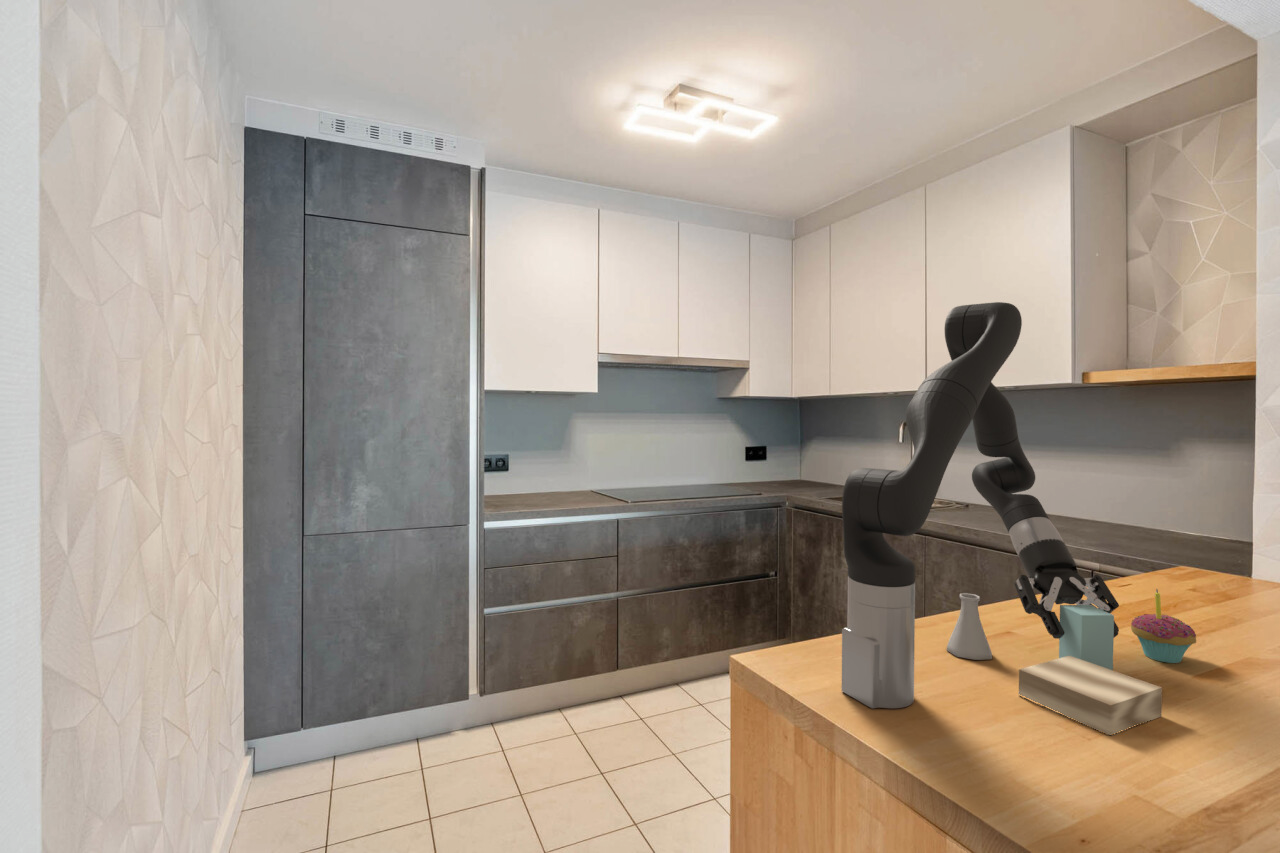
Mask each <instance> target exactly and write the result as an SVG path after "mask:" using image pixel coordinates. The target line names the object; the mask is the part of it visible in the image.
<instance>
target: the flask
mask: <svg viewBox="0 0 1280 853" xmlns="http://www.w3.org/2000/svg"><path fill="white" fill-rule="evenodd" d="M959 599H960V602H961V603H960V611H959V616H958V619H957V621H956V623H955V626H954V629H953V630H952V632H951V634H950V637H949V640H948V641H947V644H946V651H947V652H949V653H950V654H952V655H954V656H955V657H957V658H962V659H969V660H973V661H981V660H982V661H983V660H992V659H993V652H992V649H991V647H990V644H989V642H988V639H987V636H986V634H985V631H984V627H983V624H982V621H981V617H980V612H979V602H980V601H981V597H980V595H977V594H974V593H967V592H965V593H959Z"/></svg>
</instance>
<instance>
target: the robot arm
mask: <svg viewBox="0 0 1280 853" xmlns="http://www.w3.org/2000/svg"><path fill="white" fill-rule="evenodd" d="M1022 323H1023V321H1022V314H1021V312H1020V310H1019V309H1018V307H1017V306H1016V305H1015V304H1012V303H1009V302H1004V301H1003V302H1002V301H1000V302H999V301H995V302H984V303H974V304H973V303H972V304H963V305H957V306H955V307H953V308H952V309H951V310H949V312H948V314H947V316H946V319H945V322H944V338H945V344H946V347H947V351H948V355H949V357H950V359H951V361H949V362H948V363H946V364H944V365H942V366H941V367H939V368H937V369H936V370H935V371H933V372H932V373H930V374H929V375H928V376H927V377H925V379H924V380H923V381H922V382H921V384H920V385H919V386H918V388H917V390H916V392H915V393H914V395H913V397H912V399H911V400H910V402H909V404H908V405H907V408H906V412H905V423H906V428H907V432H908V435H909V437H910V439H911V442H912V446H913V448H914V449H913V450H914V452H913V455H912V457H911V459H910V461H909V462H908V464H907V465H906V467H904V468H903V469H901V470H897V469H896V470H895V469H894V470H893V469H883V468H869V467H868V468H867V467H863V468H862V467H861V468H856V469H854V470H853V471H852V472H850V473H849V475H848V476H847V478H846V480H845V483H844V486H843V490H842V500H841V512H842V516H841V517H842V534H843V535H842V536H843V554H844V559H845V562H846V565H847V614H846V615H847V616H846V617H847V619H846V620H847V621H846V622H847V623H846V624H847V626H846V627H843V628H841V692H842V693H845V694H846V695H848V696H849V697H852V698H853V699H855V700H856V701H858V702H859V703H862V704H863V705H864V706H867V707H869V708H870V709H876V708H883V709H902V708H905V707H909V706H910V705H912V704H913V703H914V700H915V637H916V636H915V628H916V626H915V624H916V623H915V622H916V620H915V618H916V617H915V616H916V614H915V612H916V611H915V610H916V566H915V563H914V562H913V560H911V559H910V558H909V557H908V556H906V555H904V554H902V553H901V552H899V551H898V550H896V549H895V548H894V547H893V546H891V544H890V543H889V542H888V541H887V540H886V539H885V537H884V534H887V535H893V536H901V537H907V536H909V537H910V536H913V535H914V534H916V533H918V532H919V530H920V529H922V527H923V526H924V525H925V523H926V521H927V519H928V516H929V514H930V512H931V509H932V507H933V504H934V502H935V499H936V497H937V495H938V491H939V489H940V485H941V484H942V480H943V478H944V476H945V473H946V470H947V468H948V466H949V464H950V462H951V459H952V457H953V455H954V454H955V452H956V449H957V447H958V445H959V444H960V441H961V440H962V438H963V436H964V434H965V433H966V431H967V430H968V428H969V426H970V424H971V423H972V426H973V431H974V438H975V443H976V447H977V449H978V451H979V452H980V453H981V455H983V456H986V457H989V458H998V459H995V460H990V461H984V462H981V463H979V464H977V465H975V467H974V468H973V469H972V473H971V480H972V483H973V486H974V488H975V489H976V491H977V492H978V493H979V494H980V495H981V497H982V498H984V500H985V501H986V502H987V503H989V505H990V506H991V507H992V508H993V509H994V510H995V511H996V513H997V514H998V515H999V517H1000V518H1001V520H1002V522H1003V524H1004V526H1005V529H1006V531H1007V532H1008V534H1009V537H1010V540H1011V543H1012V546H1013V548H1014V550H1015V552H1016V554H1017V556H1018V558H1019V560H1020V563H1021V564H1022V567H1023V569H1024V570H1025V573H1026V574H1027V575H1025V574H1020V576H1019V577H1018V578H1017V579H1016V580H1015V582H1014V583H1013V584H1014V587H1015V589H1016V593H1017V595H1018V597H1019V600H1020V602H1021V604H1022V607H1023V610H1024V612H1025V613H1027V614H1029V615H1032V614H1034V615H1037V616H1038V617H1039V618H1040V619H1041V621H1042V622H1043V625H1044V626H1045V629H1046V630H1047V632H1048V634H1049V635H1050V636H1052V638H1053V639H1057V640H1058V639H1059V638H1061V637H1062V636H1063V635H1064V630H1063V628H1062V626H1061V624H1060V619H1059V618H1058V616H1057V614H1056V612H1055V611H1052V609H1053V607H1054V604H1055V605H1064V604H1065V605H1091V606H1094V607H1096V608H1098V609H1101V610H1103V611H1105V612H1108V613H1110V614H1113V611H1115V610H1116V609H1117V608H1119V606H1120V604H1119V603H1118V601H1117V600H1116V598H1115V596H1114V595H1113V593H1112V592H1111V591H1110V588H1109V587H1108V585H1107V584H1106V582H1105V581H1104V579H1103V578H1102V576H1100V574H1099V575H1098V574H1095V575H1093V576H1092V577H1083V576H1082V575H1081V574H1080V573H1079V572H1078V569H1077V563H1076V561H1075V559H1074V558H1073V555H1072V554H1071V552H1070V550H1069V548H1068V546H1067V544H1065V543H1066V542H1065V541H1064V540H1063V538H1062V536H1061V535H1060V532H1059V530H1058V529H1057V528H1056V527H1055V525H1054V524H1053V523H1052V521H1051V519H1050V518H1049V516H1048V514H1047V512H1046V511H1045V509H1044V507H1043V505H1042V503H1041V501H1040V500H1039V499H1038V498H1037V497H1035V496H1034V495H1032V494H1027V493H1026V494H1023V493H1022V492H1026V491H1027V490H1028V491H1029V490H1030V489H1031V488H1032V487H1033V486H1034V484H1035V482H1036V473H1035V470H1034V468H1033V466H1032V465H1031V463H1030V462H1029V460H1028V458H1027V456H1026V455H1025V454H1026V453H1024V452H1025V451H1024V450H1023V448H1022V446H1021V443H1020V439H1019V433H1018V428H1017V420H1016V415H1015V412H1014V409H1013V406H1012V405H1011V403H1010V402H1009V400H1008V399H1007V397H1006V396H1005V395H1004V394H1003V393H1002V392H1001V391H1000V390H999V389H998V388H997V386H996V385H995V384H994V383H993V382H992V381H993V380H994V378H995V377H996V375H997V373H998V372H999V370H1000V369H1001V368H1002V367H1003V365H1004V364H1005V363H1006V361H1007V360H1008V358H1009V357H1010V355H1011V354H1012V353H1013V351H1014V349H1015V348H1016V347H1017V346H1016V345H1017V344H1018V342H1019V338H1020V335H1021V332H1022V325H1023V324H1022ZM1034 589H1035V590H1036V591H1038V593H1040V594H1041V597H1040V599H1039V600H1038V599H1037V596H1036V593H1035V591H1034ZM1083 597H1086V599H1082V598H1083ZM1119 632H1120V631H1119V627H1118V625H1117V623H1116V621H1115V620H1114V638H1116V637H1117V636H1118V635H1119Z"/></svg>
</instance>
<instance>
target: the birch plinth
mask: <svg viewBox="0 0 1280 853" xmlns="http://www.w3.org/2000/svg"><path fill="white" fill-rule="evenodd" d="M1019 694H1020V695H1022V696H1025V697H1026V698H1029V699H1031V700H1033V701H1035V702H1038V703H1040V704H1042V705H1044V706H1047V707H1049V708H1051V709H1053V710H1055V711H1058V712H1060V713H1062V714H1064V715H1066V716H1068V717H1070V718H1073V719H1075V720H1077V721H1079V722H1081V723H1083V724H1082V725H1084V724H1085V725H1084V726H1086V725H1088V726H1090V727H1089V728H1091V727H1092V728H1091V729H1093V728H1094V729H1093V730H1095V729H1096V731H1097V730H1099V731H1098V732H1100V731H1102V732H1104V733H1106V734H1105V735H1107V734H1109V735H1112V734H1114V733H1117V732H1119V731H1121V730H1125V729H1127V728H1129V727H1132V726H1134V725H1137V724H1140V723H1143V722H1145V723H1147V721H1148V722H1151V721H1153V720H1155V719H1158V718H1160V717H1162V709H1163V708H1162V707H1163V703H1162V702H1163V687H1162V686H1159V685H1156V684H1153V683H1150V682H1147V681H1145V680H1141V679H1139V678H1135V677H1132V676H1129V675H1127V674H1124V673H1121V672H1119V671H1116V670H1114V669H1113V670H1110V669H1107V668H1104V667H1101V666H1098V665H1095V664H1092V663H1090V662H1087V661H1084V660H1081V659H1078V658H1075V657H1072V656H1066V657H1062V658H1059V657H1058V658H1055V659H1052V660H1049V661H1044V662H1041V663H1037V664H1033V665H1030V666H1026V667H1023V668H1019V669H1018V695H1019ZM1070 718H1069V719H1070ZM1150 720H1151V721H1150ZM1077 721H1076V722H1077ZM1079 722H1078V723H1079ZM1081 723H1080V724H1081ZM1143 724H1144V723H1143ZM1140 725H1141V724H1140ZM1088 726H1087V727H1088ZM1132 728H1133V727H1132ZM1127 730H1128V729H1127ZM1125 731H1126V730H1125ZM1102 732H1101V733H1102ZM1104 733H1103V734H1104ZM1119 733H1120V732H1119ZM1117 734H1118V733H1117ZM1109 735H1108V736H1109ZM1114 735H1115V734H1114ZM1112 736H1113V735H1112Z"/></svg>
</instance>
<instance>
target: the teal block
mask: <svg viewBox="0 0 1280 853" xmlns="http://www.w3.org/2000/svg"><path fill="white" fill-rule="evenodd" d="M1094 606H1095V605H1094ZM1094 606H1091V605H1077V604H1059V622H1060V624H1061V626H1062V628H1063V630H1064V635H1063V636H1062V637H1061V638H1059V640H1058V646H1059V647H1058V658H1062V657H1066V656H1072V657H1075V658H1078V659H1081V660H1084V661H1087V662H1090V663H1092V664H1095V665H1098V666H1101V667H1104V668H1107V669H1110V670H1113V671H1114V643H1115V642H1114V640H1115V639H1114V638H1115V637H1114V621H1115V615H1114V614H1113V613H1108V612H1105V611H1103V610H1101V609H1098V607H1097V606H1095V607H1094Z"/></svg>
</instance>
